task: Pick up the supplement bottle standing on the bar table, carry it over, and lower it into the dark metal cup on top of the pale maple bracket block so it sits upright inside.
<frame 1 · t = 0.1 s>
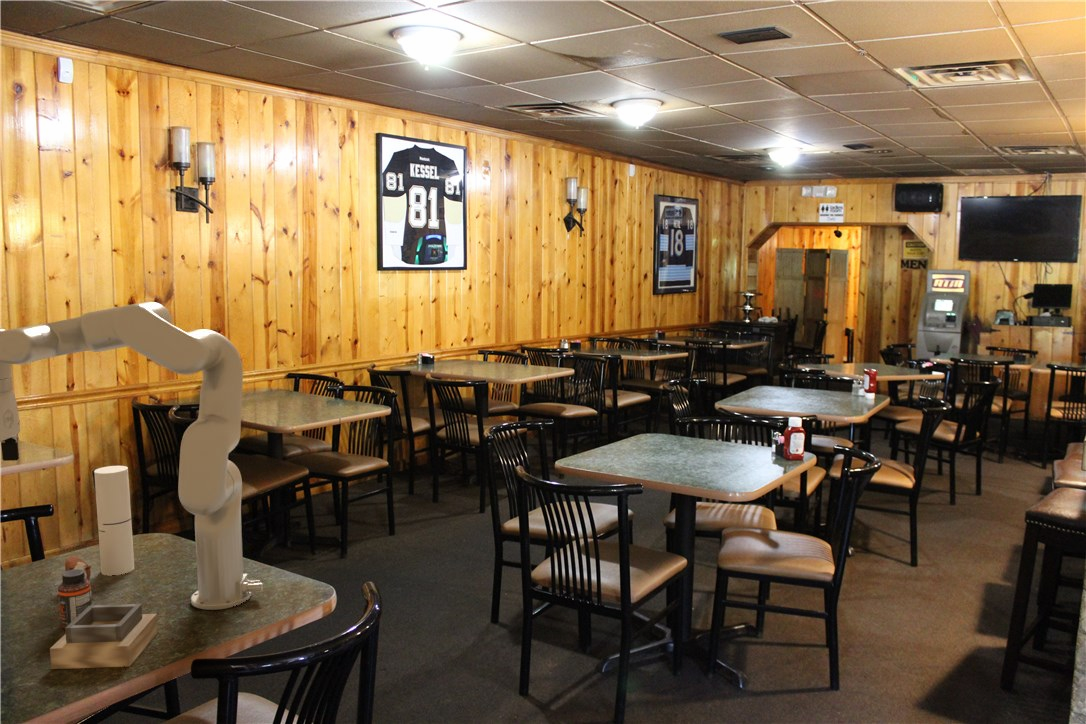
cylindrical container: (118, 570, 204), on the table
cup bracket: (107, 649, 163), on the table
bull figurine: (80, 593, 191), on the table
supplement bottle: (77, 625, 175), on the table
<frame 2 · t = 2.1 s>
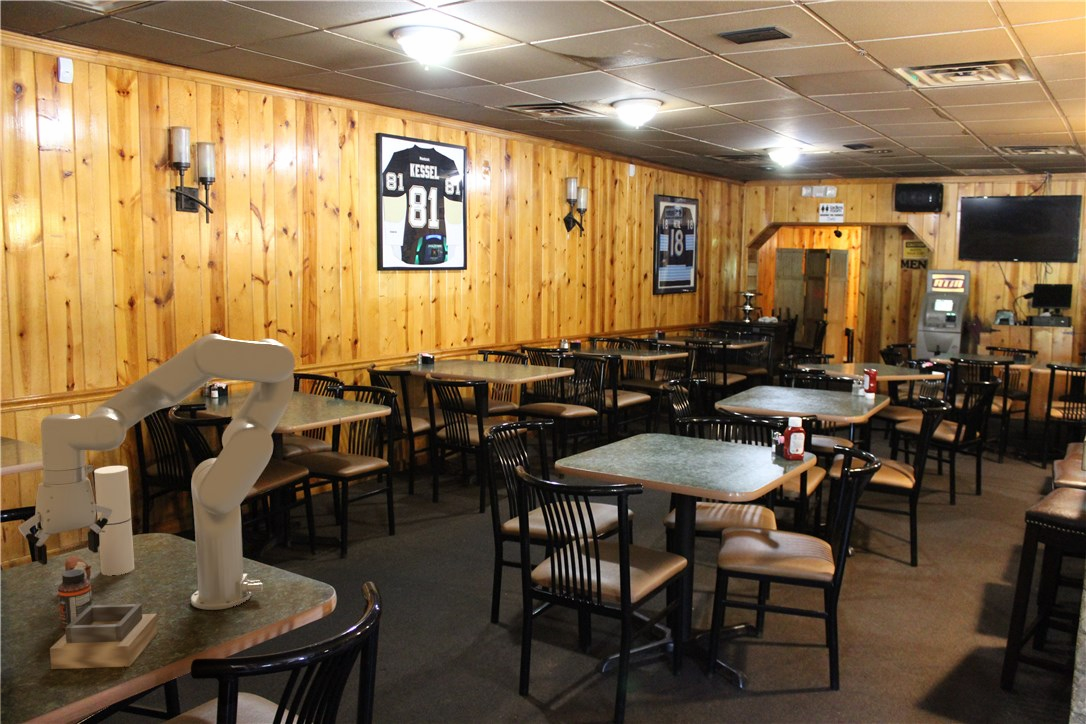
hand: (68, 556, 172), 15 cm above the table, tool pointing down, fingers open, 9 cm apart
nothing on the table moved.
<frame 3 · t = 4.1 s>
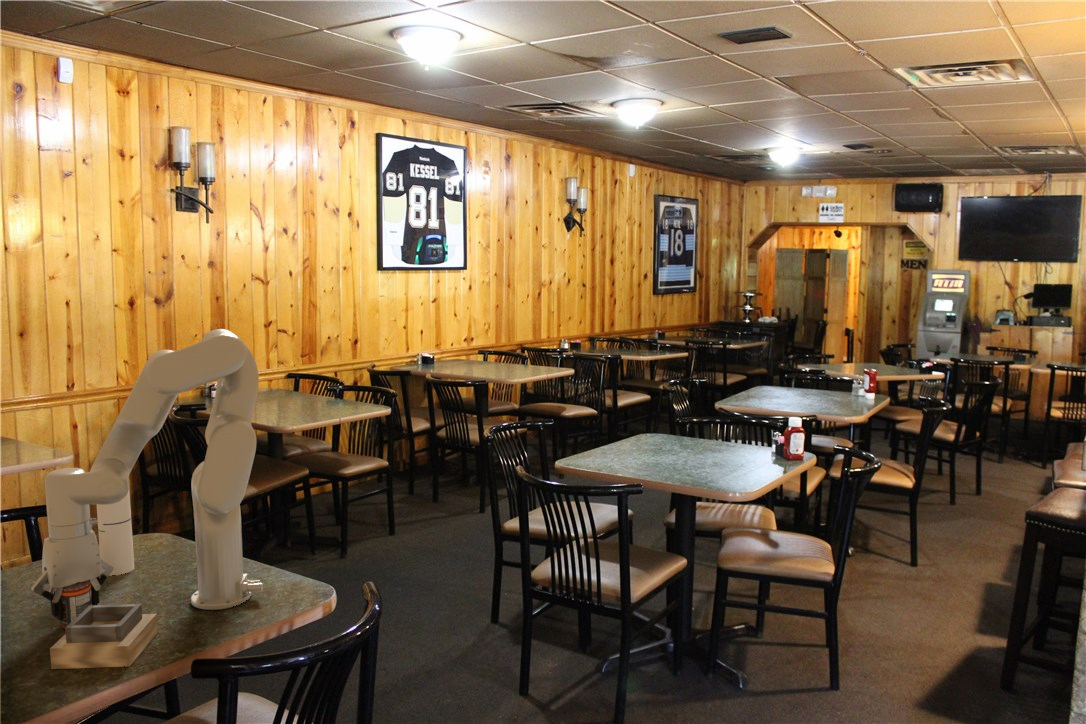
hand: (76, 612, 174), 3 cm above the table, tool pointing down, fingers closed on supplement bottle, 6 cm apart
supplement bottle: (77, 625, 175), on the table, touching gripper
everything else where it was.
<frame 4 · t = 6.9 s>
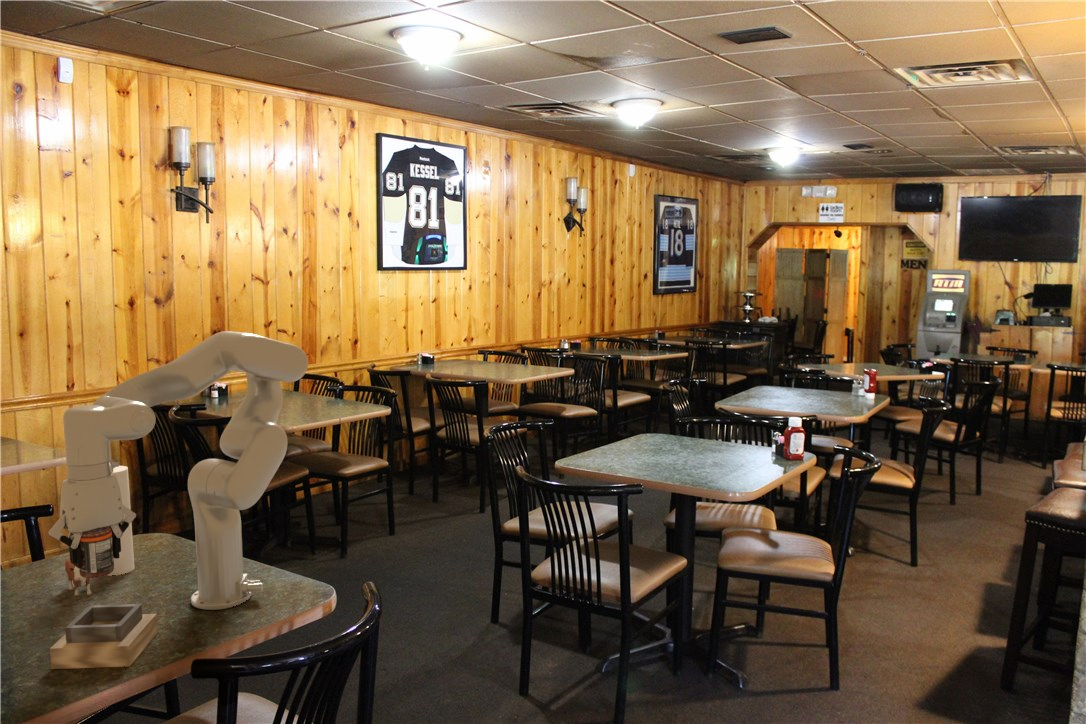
hand: (96, 560, 163), 17 cm above the table, tool pointing down, fingers closed on supplement bottle, 6 cm apart
supplement bottle: (97, 574, 163), point 15 cm above the table, touching gripper
everything else where it was.
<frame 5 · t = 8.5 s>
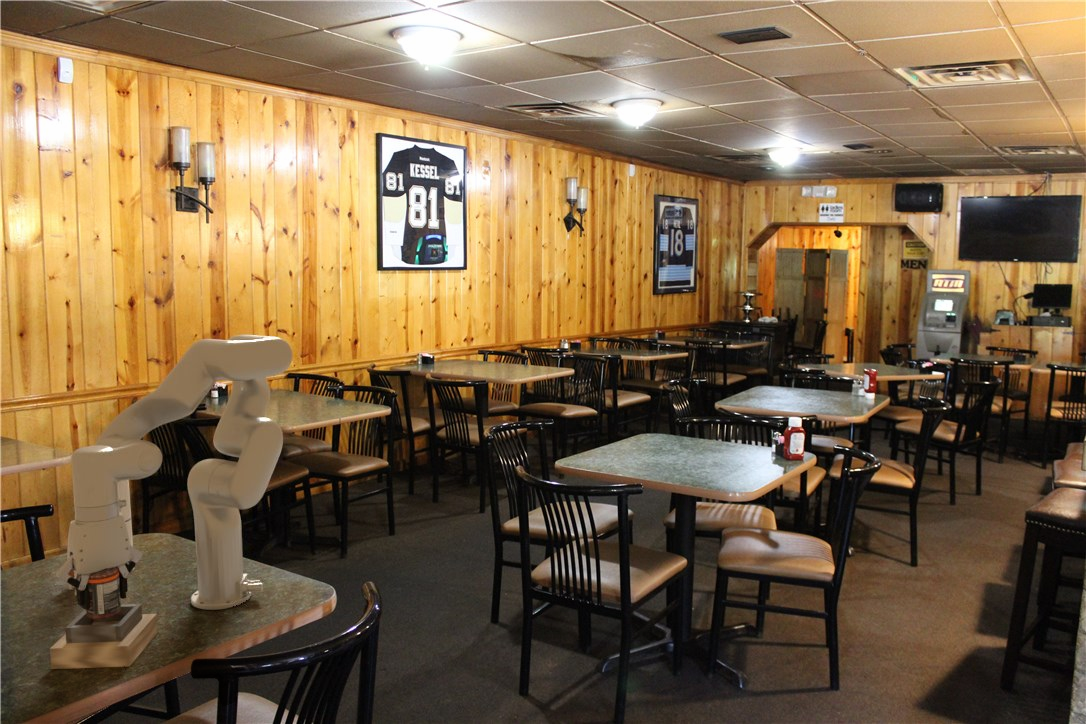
hand: (103, 601, 162), 10 cm above the table, tool pointing down, fingers closed on supplement bottle, 6 cm apart
supplement bottle: (104, 615, 162), point 7 cm above the table, touching gripper
everything else where it was.
when the fingers open (9 cm above the table, at t = 9.6 s): supplement bottle drops 2 cm, resting on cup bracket.
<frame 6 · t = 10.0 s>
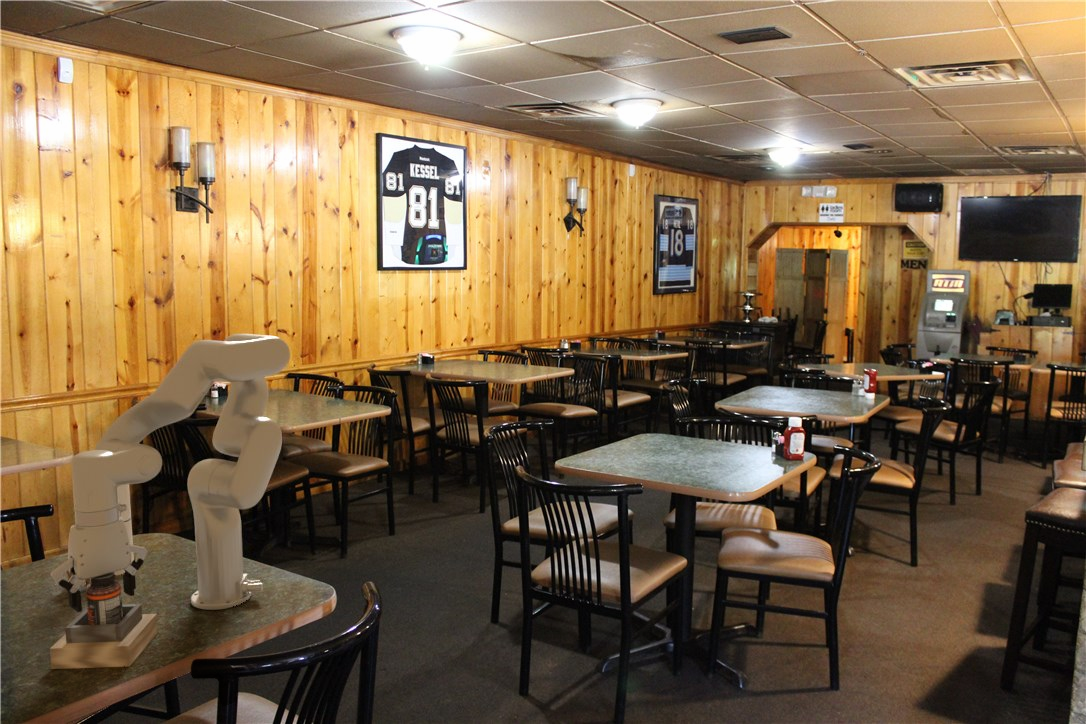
hand: (103, 601, 162), 10 cm above the table, tool pointing down, fingers open, 9 cm apart
supplement bottle: (106, 630, 163), point 4 cm above the table, touching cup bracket
everything else where it was.
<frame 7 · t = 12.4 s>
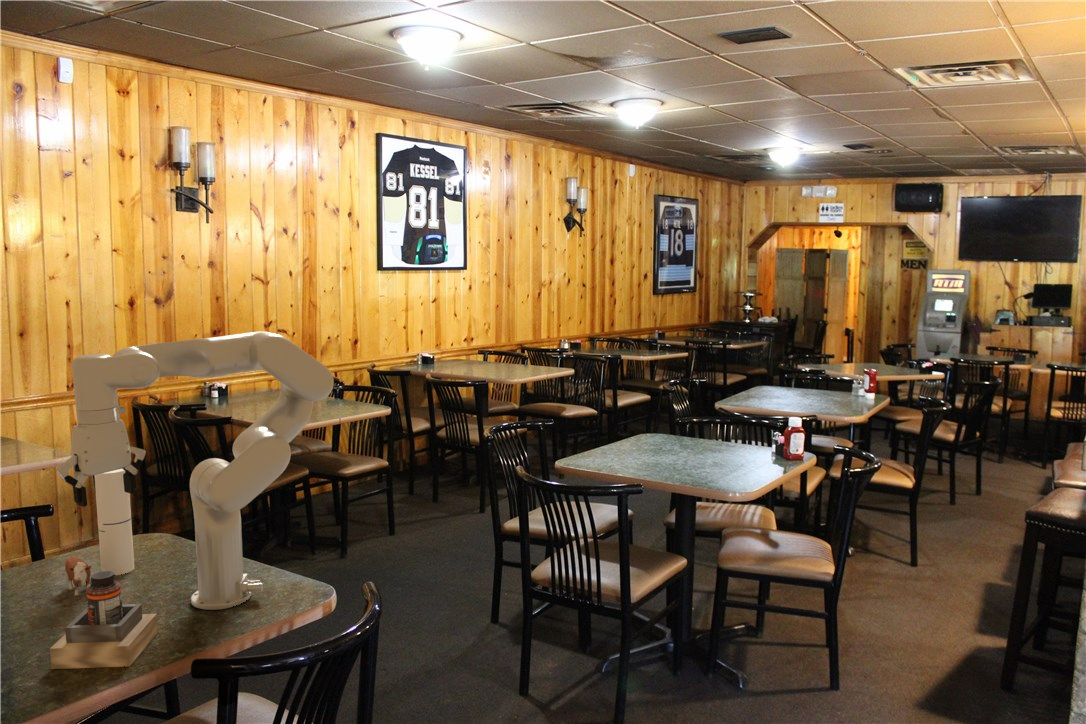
hand: (106, 499, 171), 27 cm above the table, tool pointing down, fingers open, 9 cm apart
nothing on the table moved.
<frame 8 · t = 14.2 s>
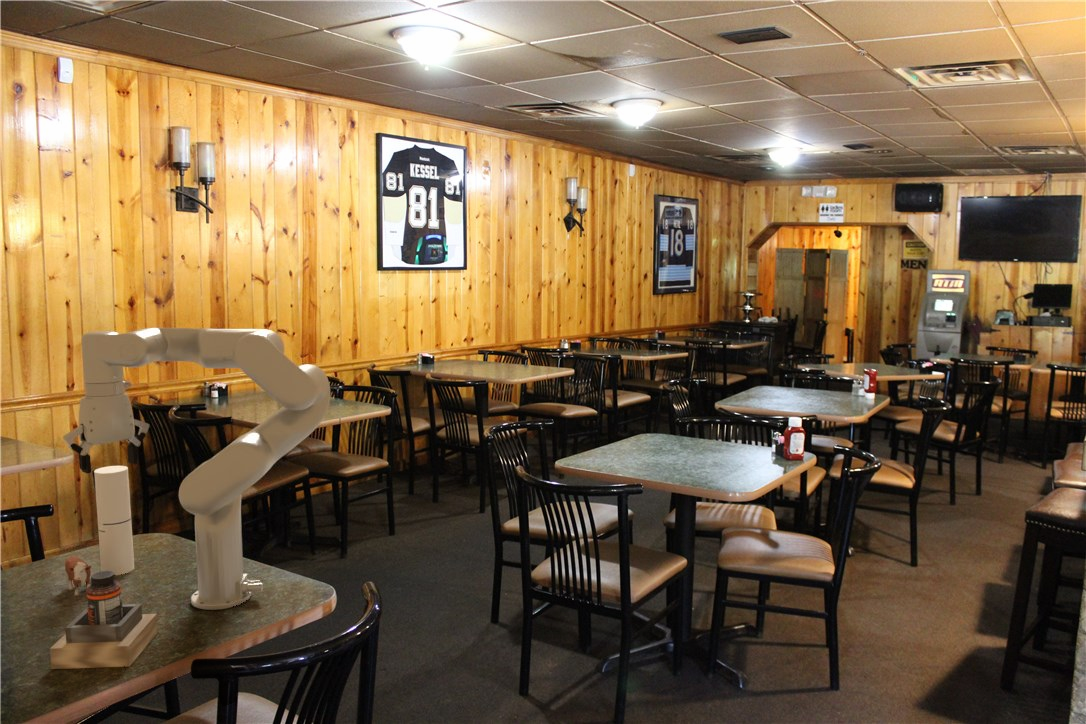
hand: (110, 467, 182), 30 cm above the table, tool pointing down, fingers open, 9 cm apart
nothing on the table moved.
at the end: supplement bottle 0.2 cm off-centre on the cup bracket, point 3.8 cm above the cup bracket's base; supplement bottle tilted 0°; the gripper is holding nothing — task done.
